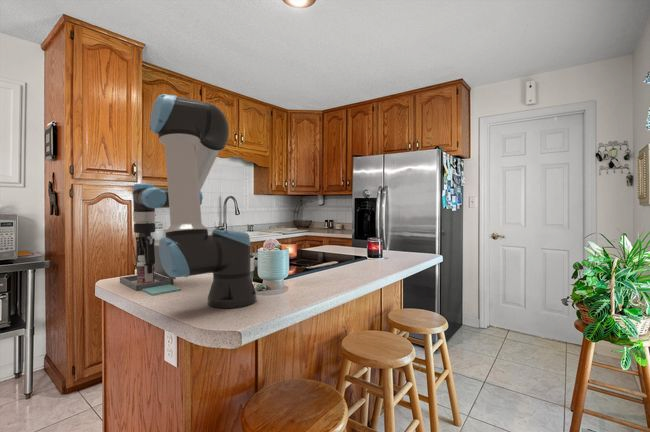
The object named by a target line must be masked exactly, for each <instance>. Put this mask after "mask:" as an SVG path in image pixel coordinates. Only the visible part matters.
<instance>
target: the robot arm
mask: <svg viewBox="0 0 650 432" xmlns="http://www.w3.org/2000/svg"><path fill="white" fill-rule="evenodd" d="M149 125H150V127H149V128H150V130H151V133H154V134H156V135H158V142H159V143H160V144H162V145H163V146H164V151H165V163H166V164H165V165H166V167H165V168H166V179H167V180H166V181H167V188H165V187H163V188H161V187H156V186H155V185H154V184H152V183H134V184H133V186H132V199H133V201H132V202H133V203H132V204H133V217H132V218H133V222H134V224H133V232H134V234H138V236H136V237H135V242H136V249H135V250H136V262H137V263H138V262H139V261H138V256H140V255H145V263H146V264H144V266H145V282H150V281H153V264H155V250H154V245H155V238H152V233H155V232H156V223H155V221H156V216H157V214H156V212H155V211H156V209H166V208H167V209H169V210H168V211H169V219H170V220H169V221H170V226H169V227H168V228H167V230H165V233H164V235H165V237H162V238H161V239H160V240H159V242H158V246H159V255H160V260H161V263H162V266H163V268H164V270H165V272H166V273H167V274H168V275H169V276H171V277H176V278H183V277H184V278H188V277H191V276H197V275H198V276H199V275H204V274H211V273H212V275H213V276H212V277H213V278H212V281H211V282H212V283H211V285H210V290H209V292H208V296H207V304H208V306H209V307H212V308H216V309H234V308H235V309H236V308H243V307H246V306H249V305H252V304H254V303H256V301H257V292H256V290H255V285H254V283H253V281H252V277H251V246H252V245H251V237H250V235H249V233H247V232H246V231H245V232H244V231H236V230H235V231H234V230H225V229H223V230H221V229H213V230H212V232H211V234H209V231H208V228H207V227H206V226H205V225H204V224H203V223H202V210H201V209H202V208H201V205H202V203H203V199H204V198H203V193H202V188H203V186H204V183H205V182H206V181H207V177H208V175H209V174H210V172H211V170H212V168H213V165H214V163H215V161H216V159H217V157H218V155H219V153H220V152H221V151H223V150H224V149H225V148H226V145H227V143H228V140H229V136H230V127H229V123H228V120H227V117H226V115H225V114H224V113H223V111H222V110H221V109H220V108H219V107H217V106H216V105H215V104H213V103H211V102H208V101H201V100H197V99H196V100H195V99H192V98H188V97H183V96H177V95H175V94H174V95H172V94H165V93H163V94H160V95H158V96H157V97H156V99H155V101H154V102H153V106H152V109H151V114H150V123H149Z"/></svg>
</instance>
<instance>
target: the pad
mask: <svg viewBox="0 0 650 432" xmlns="http://www.w3.org/2000/svg"><path fill="white" fill-rule="evenodd" d="M141 291H142V292H144V293H146V294H148V295H150V296H152V295H153V296H157V295H158V294H159V295H164V294H168V293H169V294H170V293H174V292H179V291H182V288H181V287H177V286H176V285H174V284H173V285H171V284H169V285H163V286H157V287H151V288H145V289H142V290H141ZM163 293H164V294H163Z"/></svg>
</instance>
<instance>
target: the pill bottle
mask: <svg viewBox="0 0 650 432" xmlns="http://www.w3.org/2000/svg"><path fill="white" fill-rule="evenodd" d="M138 261H139V262H138ZM138 261H137V264H136V275H137V280H136V284H138V285H140V284H147V283H153V282H156V281H155V280H156V279H154V273H155V269H154V264H153V281H150V282H145V266H144V264H146V263H145V255H140V256H138Z"/></svg>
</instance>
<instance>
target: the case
mask: <svg viewBox="0 0 650 432" xmlns="http://www.w3.org/2000/svg"><path fill="white" fill-rule="evenodd" d="M154 250H155V264H154V280H158V281H154V282H153V283H147V284H140V285H138V284H137V283H135V281H137V274H135V275H128V276H122V277H119V283H120V284H121V285H124V286H126V287H128V288H130V289H131V290H134V291H136V292H140V291H142V289H145V288H151V287H157V286H163V285H169V284H171V285H173V286H174V280H176V279H177V277H171V276H169V275H168V274H167V273H166V272H165V270H164V268H163V266H162V263H161V260H160V255H159V244H157V245H156V244H154Z"/></svg>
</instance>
